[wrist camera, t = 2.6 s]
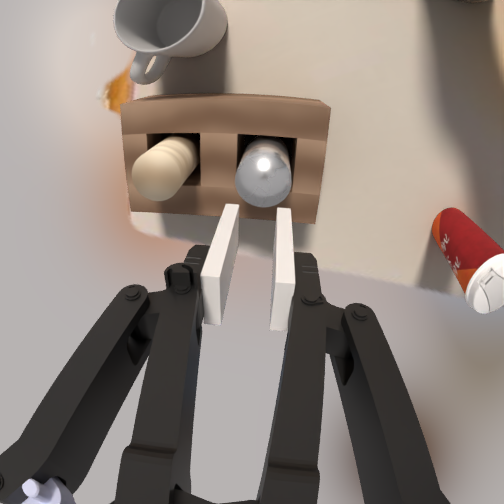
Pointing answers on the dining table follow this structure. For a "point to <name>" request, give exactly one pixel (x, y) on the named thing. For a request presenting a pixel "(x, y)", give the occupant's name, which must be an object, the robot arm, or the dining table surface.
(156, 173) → the beech peg
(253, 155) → the aluminium peg
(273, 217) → the walnut socket block
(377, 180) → the dining table surface
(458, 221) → the coffee cup
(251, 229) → the dining table surface
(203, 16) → the mug
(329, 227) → the dining table surface
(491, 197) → the dining table surface
